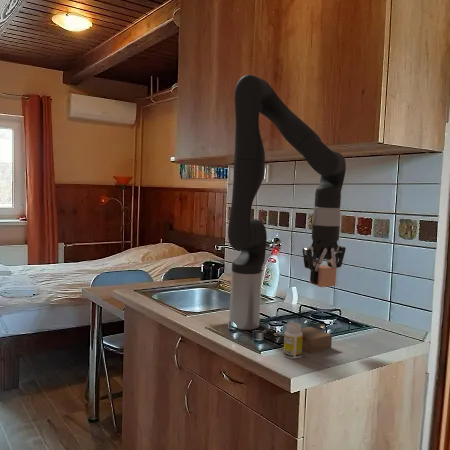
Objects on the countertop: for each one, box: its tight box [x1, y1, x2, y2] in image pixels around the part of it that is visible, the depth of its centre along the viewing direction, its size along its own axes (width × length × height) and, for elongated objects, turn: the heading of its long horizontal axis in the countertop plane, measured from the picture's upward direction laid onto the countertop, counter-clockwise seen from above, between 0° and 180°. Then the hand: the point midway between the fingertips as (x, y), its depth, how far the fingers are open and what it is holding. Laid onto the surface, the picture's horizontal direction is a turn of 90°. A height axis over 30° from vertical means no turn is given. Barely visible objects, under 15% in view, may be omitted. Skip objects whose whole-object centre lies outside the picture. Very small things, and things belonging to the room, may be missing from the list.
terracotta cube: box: [309, 264, 337, 288], centre depth 131 cm, size 5×5×5 cm
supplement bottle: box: [283, 321, 303, 360], centre depth 122 cm, size 5×5×8 cm
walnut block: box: [301, 326, 333, 354], centre depth 129 cm, size 8×8×4 cm
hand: (322, 282), depth 131 cm, fingers closed on terracotta cube, 5 cm apart
